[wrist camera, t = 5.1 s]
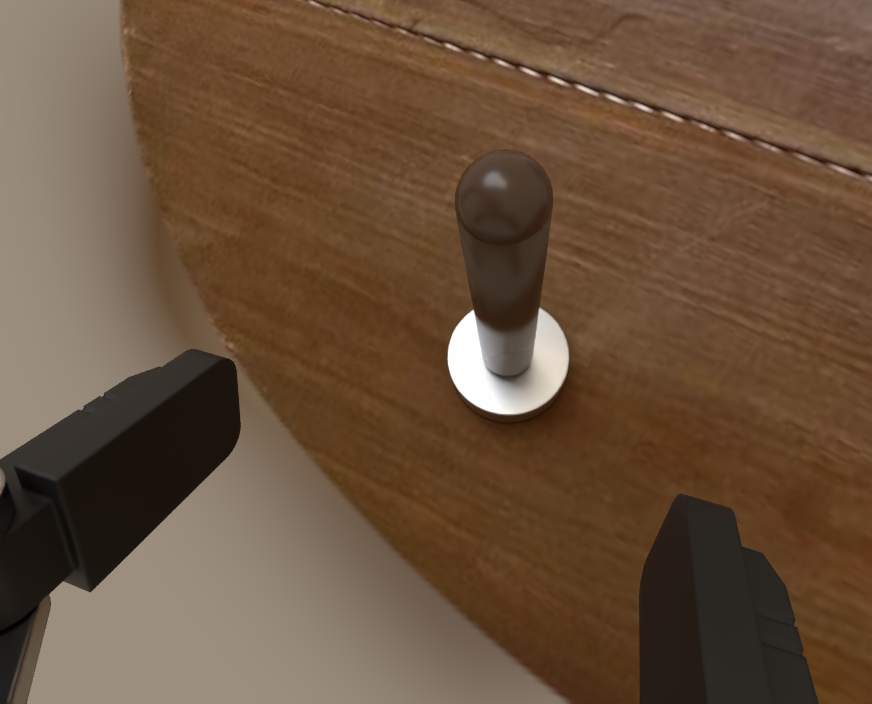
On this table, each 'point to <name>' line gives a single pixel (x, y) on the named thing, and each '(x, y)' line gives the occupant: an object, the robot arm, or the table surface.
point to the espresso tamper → (506, 291)
